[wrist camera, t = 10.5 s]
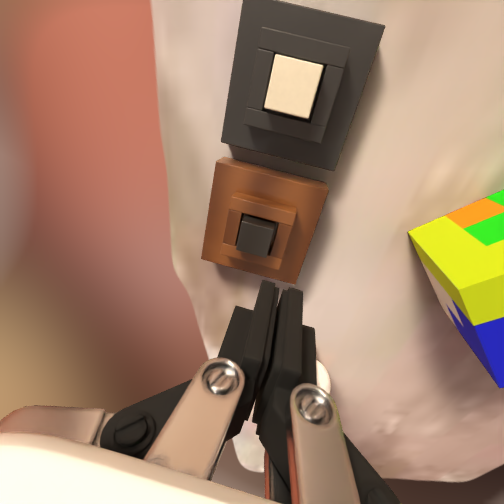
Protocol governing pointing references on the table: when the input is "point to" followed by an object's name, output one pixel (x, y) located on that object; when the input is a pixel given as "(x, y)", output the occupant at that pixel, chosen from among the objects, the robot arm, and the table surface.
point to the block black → (307, 49)
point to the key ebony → (255, 236)
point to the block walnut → (262, 217)
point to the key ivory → (293, 86)
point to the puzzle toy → (470, 274)
